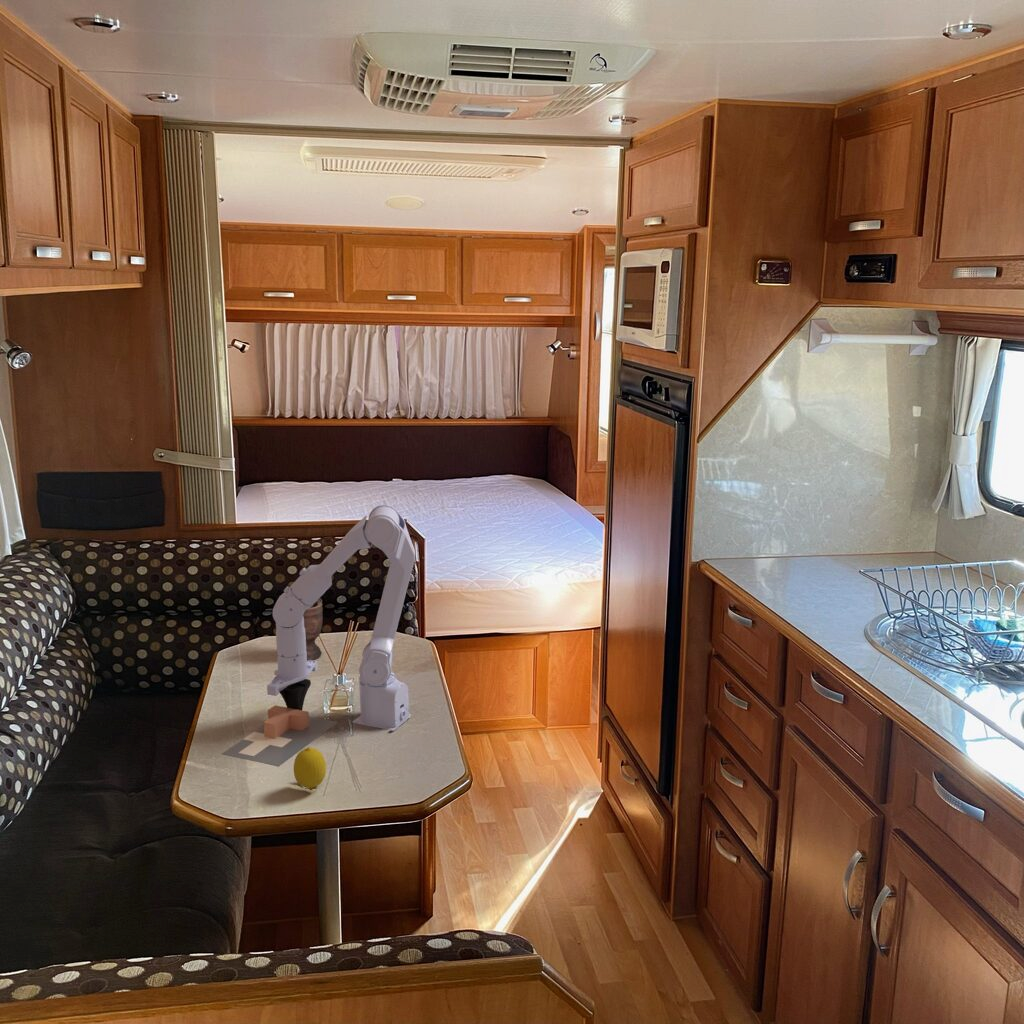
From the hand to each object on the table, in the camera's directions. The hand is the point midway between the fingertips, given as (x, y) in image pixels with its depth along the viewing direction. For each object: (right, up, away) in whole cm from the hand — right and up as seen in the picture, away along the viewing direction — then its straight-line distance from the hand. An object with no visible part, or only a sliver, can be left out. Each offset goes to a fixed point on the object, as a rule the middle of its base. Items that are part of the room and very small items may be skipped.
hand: (295, 715), depth 197 cm
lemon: (+8, -8, -26) cm, 28 cm away
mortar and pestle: (-6, +7, +38) cm, 39 cm away
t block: (-2, -2, -4) cm, 5 cm away
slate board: (-1, -3, -7) cm, 8 cm away
